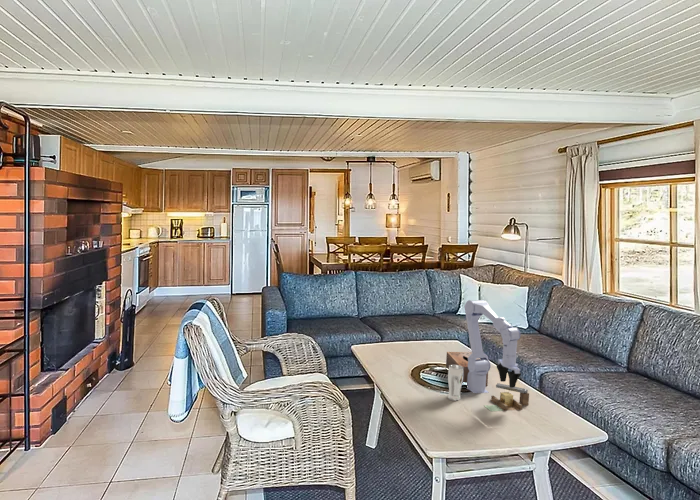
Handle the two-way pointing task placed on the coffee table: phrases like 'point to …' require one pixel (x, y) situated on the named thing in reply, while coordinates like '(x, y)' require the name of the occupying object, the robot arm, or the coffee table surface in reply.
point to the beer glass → (455, 382)
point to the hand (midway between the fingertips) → (507, 384)
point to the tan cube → (506, 398)
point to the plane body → (516, 406)
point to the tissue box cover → (460, 362)
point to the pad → (493, 408)
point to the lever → (511, 388)
